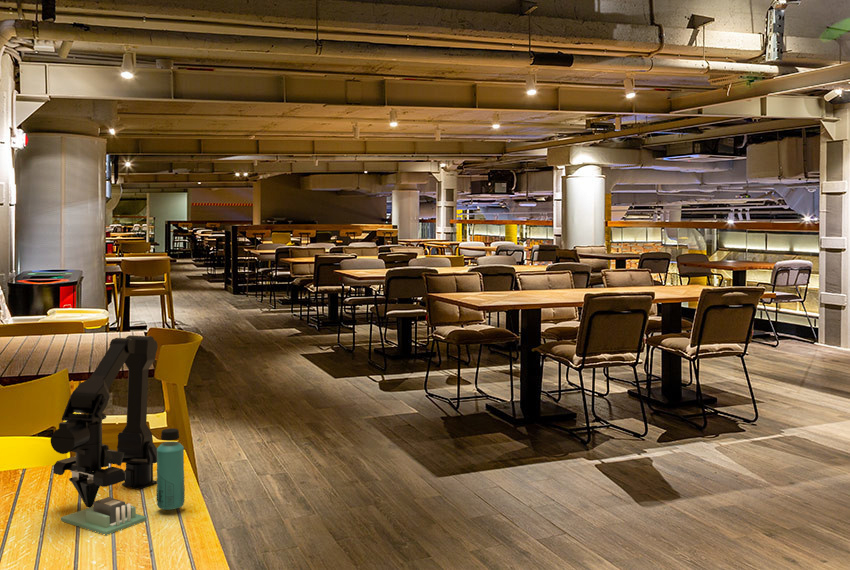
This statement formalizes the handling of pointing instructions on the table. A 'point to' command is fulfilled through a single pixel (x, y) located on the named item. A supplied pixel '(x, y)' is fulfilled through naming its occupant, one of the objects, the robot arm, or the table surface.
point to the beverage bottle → (170, 471)
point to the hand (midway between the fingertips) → (89, 506)
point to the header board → (104, 519)
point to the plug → (108, 507)
